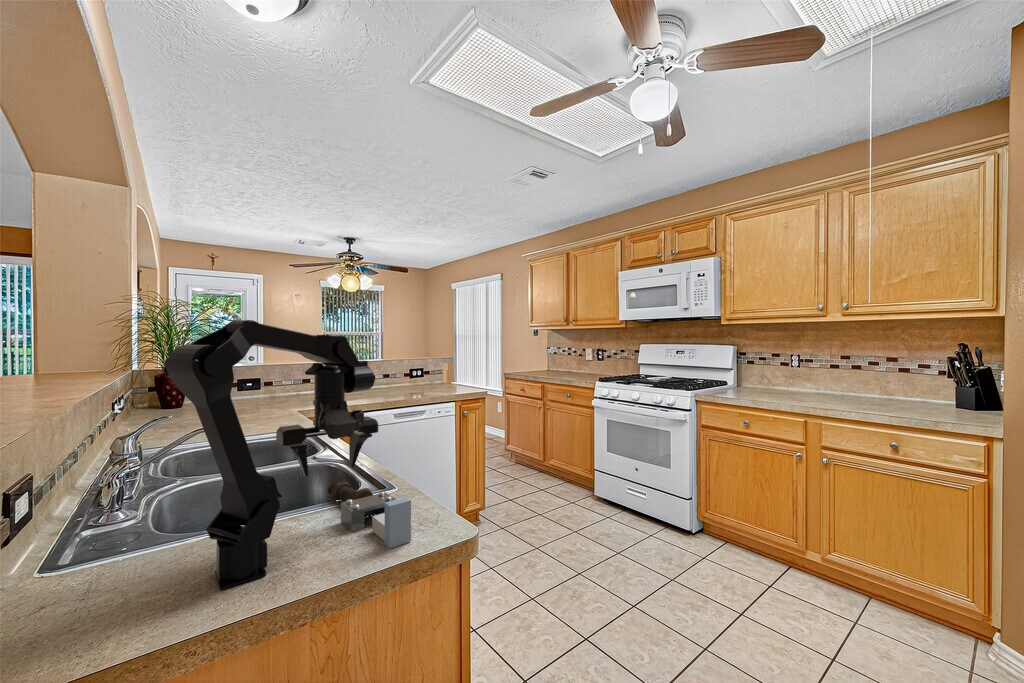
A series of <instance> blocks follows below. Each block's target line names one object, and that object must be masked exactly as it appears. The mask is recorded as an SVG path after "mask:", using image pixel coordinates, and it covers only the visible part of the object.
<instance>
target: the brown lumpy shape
mask: <svg viewBox="0 0 1024 683" xmlns="http://www.w3.org/2000/svg"><path fill="white" fill-rule="evenodd" d="M327 493H328V494H329V495H330V496H331V497H332V499H333V501H335V502H336V500H342V501H344V502H347V500H348V499H352V500H355V499H360V498H364V497H368V496H372V495H374V494H373V492H372V491H371V489H369V488H368V487H365V488H360V489H354V488H352V486H351V484H350V483H349V482H347V481H341V482H332V483H330V484H329V485H328V488H327ZM338 502H339V503H342V502H341V501H338ZM338 502H337V503H338Z"/></svg>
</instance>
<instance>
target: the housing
mask: <svg viewBox="0 0 1024 683" xmlns="http://www.w3.org/2000/svg"><path fill="white" fill-rule="evenodd" d="M393 500H397V498H395V497H394V496H392V495H390V494H389V493H387V492H385V491H379V492H378V493H375V494H373V495H372V496H368V497H364V498H360V499H355V500H352V499H348V500H347V502H345V501H344V502H340V523H341V525H343V526H344V527H345V528H346V529H347V530H348V531H349V530H350V531H349V532H350V533H353V532H357V531H361V530H363V528H364V529H365V518H364V517H367V516H370V517H372V516H371V515H374V514H376V515H379V514H383V513H385V502H389V501H393ZM374 516H375V515H374ZM367 518H368V517H367ZM360 529H361V530H360ZM356 530H357V531H356Z"/></svg>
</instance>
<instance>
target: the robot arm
mask: <svg viewBox="0 0 1024 683" xmlns="http://www.w3.org/2000/svg"><path fill="white" fill-rule="evenodd" d="M253 346H255V347H260V348H265V349H273V350H278V351H284V352H290V353H294V354H295V353H296V354H298V355H301V356H302V357H303V358H305V359H308V360H310V361H313V363H312V365H311V366H310V367H309V368H308V369H306V370H305V371H304V372H305V373H304V374H305V375H306V376H314V400H313V399H312V400H313V401H312V405H313V406H314V420H313V421H312V425H313V427H304V426H301V425H300V424H289V425H284V426H279V427H278V428H277V429H276V433H275V436H276V440H275V441H276V442H277V443H278V444H280V445H281V446H284V447H287V448H288V449H290V450H291V451H292V452H293V453H294V454H295V457H296V459H297V461H298V464H299V466H300V469H301V472H302V474H303V476H304V477H308V476H309V465H308V463H309V462H308V453H307V450H308V444H307V443H305V441H306V440H307V438H314V437H320V436H327V437H328V439H331V440H337V439H339V438H344V437H347V438H348V439H349V440H348V441H349V444H348V445H349V447H348V450H349V451H348V452H349V456H348V458H349V466H350V468H351V469H352V468H355V465H356V462H357V461H358V460H357V459H358V457H359V454H360V452H361V449H362V447H363V445H364V443H365V442H366V441H367V440H368V439H369V438H372V437H373V434H376V433H378V432H379V421H377V419H376V418H373V417H370V416H368V415H367V416H365V412H364V411H363V410H362V409H356V410H355V409H354V410H352V411H349V409H348V402H347V401H346V400H345V398H346V396H345V395H346V394H350V393H357V392H363V391H369V390H371V389H372V388H373V387H374V384H375V382H376V381H375V380H376V375H375V373H374V370H372V368H371V367H370V366H369V364H368V363H369V361H368V360H359V358H358V357H357V356H356V354H355V352H354V350H353V349H352V347H351V345H350V342H349V341H348V338H347V336H345V335H343V334H309V333H304V332H301V331H300V332H299V331H296V330H290V329H287V328H283V327H278V326H273V325H269V324H265V323H260V322H257V321H256V320H252V319H237V320H235V319H234V320H232V321H229V322H228V323H226V324H225V325H224V326H222V327H221V328H219V329H217V330H215V331H212V332H211V333H208V334H205V335H204V336H202V337H200V338H198V339H196V340H194V341H193V342H191V343H189V344H184V345H183V344H182V345H179V346H177V347H175V348H174V349H173V350H172V351H171V352H170V353H169V355H168V357H167V358H165V364H164V365H165V369H166V370H165V371H166V372H167V374H168V375H169V377H170V378H171V380H172V381H173V383H174V384H175V386H176V388H177V390H179V391H180V392H181V393H182V394H183V395H184V396H185V397H186V398H187V399H188V400H189V401H190V402H191V403H192V404H193V406H194V407H195V410H196V413H197V416H198V418H199V421H200V423H201V425H202V428H203V431H204V434H205V437H206V439H207V442H208V444H209V447H210V449H211V452H212V455H213V457H214V461H215V463H216V465H217V469H218V471H219V472H220V474H219V475H220V476H221V478H222V482H223V486H222V490H221V493H220V498H219V499H220V504H221V509H220V510H219V511H218V513H217V514H216V515H215V517H214V518H213V519H212V520H211V522H210V524H209V525H208V526H207V527H206V533H207V535H208V537H209V539H210V540H215V541H216V570H214V573H213V574H214V577H215V581H216V583H217V586H218V589H219V590H221V591H222V590H226V589H229V588H231V587H235V586H238V585H241V584H244V583H247V582H251V581H255V580H257V579H261V578H264V577H266V575H267V571H266V569H265V568H267V566H268V543H267V539H269V538H270V537H271V535H272V531H273V528H274V525H275V521H276V518H277V515H278V511H280V509H281V503H280V502H281V501H280V498H282V497H283V495H282V494H281V493H280V492H279V490H278V487H277V481H276V479H275V477H274V476H270V475H266V474H260V473H259V472H258V471H257V468H256V465H255V462H254V459H253V458H252V457H253V456H252V454H251V451H250V448H249V445H248V442H247V440H246V436H245V434H244V431H243V428H242V425H241V423H240V420H239V416H238V414H237V412H236V408H235V405H234V403H233V400H232V394H231V393H232V390H233V386H234V385H233V384H234V381H235V375H234V368H233V367H234V366H236V365H237V364H238V363H239V362H240V361H242V360H243V359H245V357H246V355H247V354H248V352H249V351H250V349H251V348H252V347H253Z"/></svg>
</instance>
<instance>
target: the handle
mask: <svg viewBox="0 0 1024 683" xmlns="http://www.w3.org/2000/svg"><path fill="white" fill-rule="evenodd" d="M396 499H397V498H396ZM371 517H372V518H371V519H372V530H371V531H372V532H373V533H374V534H375V535H376V536H378V537H379V538H380V539H381V540H382V541H383V542H384V546H386V547H387V548H388V549H392V548H396V547H399V546H401V544H402V545H405V544H408V543H410V542H409V541H411V542H412V500H411V499H410V498H408V497H405V496H404V497H402V498H398V499H397V500H393V501H389V502H385V513H383V514H379V515H374V516H371ZM407 542H408V543H407ZM404 543H405V544H404ZM398 545H399V546H398Z"/></svg>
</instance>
